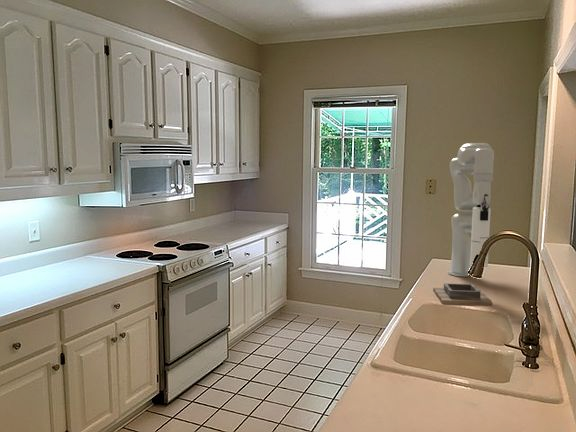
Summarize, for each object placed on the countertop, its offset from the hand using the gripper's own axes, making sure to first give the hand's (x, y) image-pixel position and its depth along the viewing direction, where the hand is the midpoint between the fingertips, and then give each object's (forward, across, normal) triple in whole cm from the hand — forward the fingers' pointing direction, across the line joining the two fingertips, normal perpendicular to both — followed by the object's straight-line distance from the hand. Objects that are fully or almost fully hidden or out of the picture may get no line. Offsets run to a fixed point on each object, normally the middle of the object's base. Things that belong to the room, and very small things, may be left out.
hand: (481, 219), depth 213 cm
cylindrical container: (+20, 0, 0) cm, 20 cm away
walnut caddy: (+34, +3, -8) cm, 35 cm away
